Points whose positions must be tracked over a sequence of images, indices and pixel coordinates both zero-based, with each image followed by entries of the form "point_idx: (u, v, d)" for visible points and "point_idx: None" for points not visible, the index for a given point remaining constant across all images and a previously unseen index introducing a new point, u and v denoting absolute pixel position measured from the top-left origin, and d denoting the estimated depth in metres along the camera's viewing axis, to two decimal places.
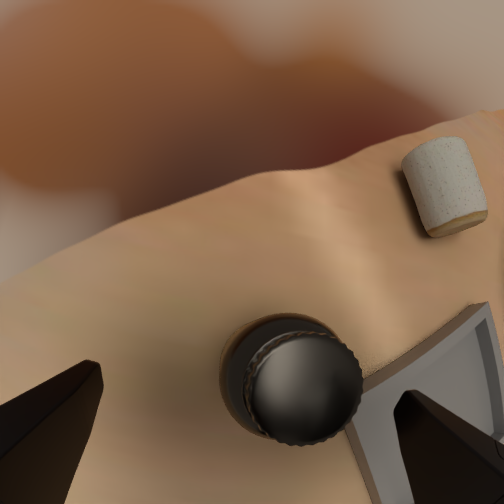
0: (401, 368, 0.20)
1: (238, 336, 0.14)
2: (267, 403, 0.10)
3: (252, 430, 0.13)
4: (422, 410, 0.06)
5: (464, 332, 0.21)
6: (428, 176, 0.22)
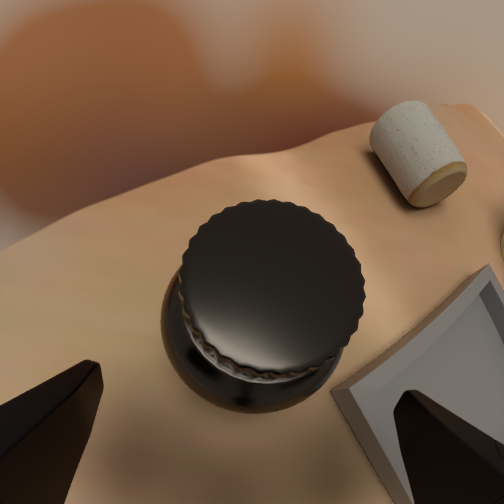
0: (408, 340, 0.17)
1: None
2: (211, 293, 0.07)
3: (209, 393, 0.09)
4: (422, 410, 0.06)
5: (471, 295, 0.19)
6: (397, 139, 0.22)
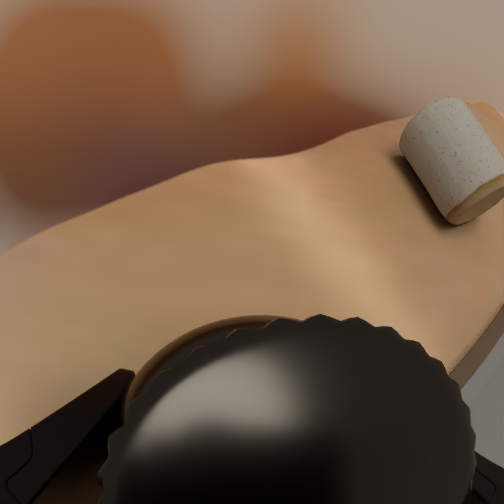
0: None
1: (141, 369, 0.06)
2: None
3: None
4: None
5: None
6: (437, 143, 0.17)
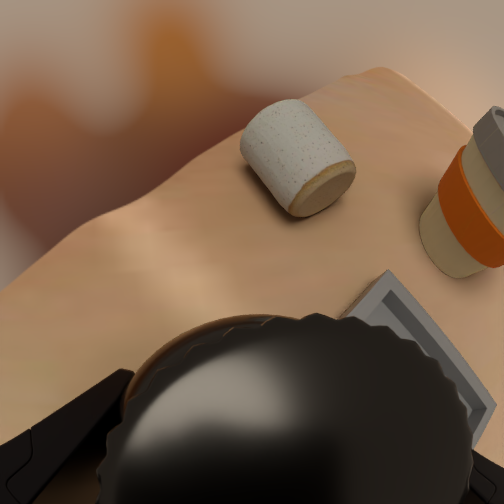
0: None
1: (140, 367, 0.06)
2: None
3: None
4: None
5: (361, 317, 0.20)
6: (263, 153, 0.23)
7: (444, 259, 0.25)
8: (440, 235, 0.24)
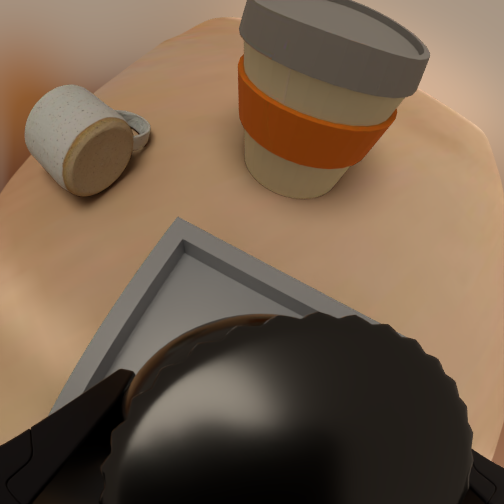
0: (70, 380, 0.14)
1: (143, 366, 0.06)
2: None
3: None
4: None
5: (144, 282, 0.17)
6: (36, 150, 0.18)
7: (276, 180, 0.23)
8: (256, 155, 0.22)
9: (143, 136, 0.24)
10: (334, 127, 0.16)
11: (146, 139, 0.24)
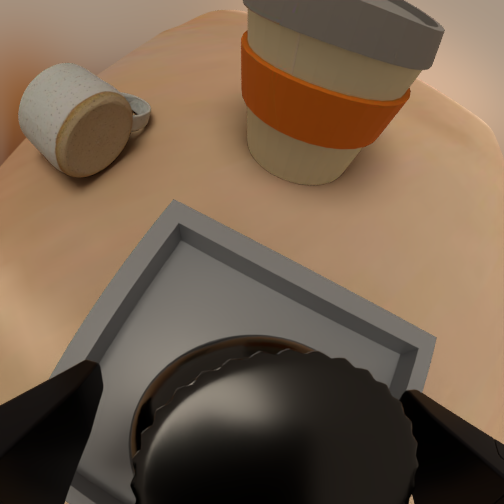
0: None
1: (154, 379, 0.07)
2: None
3: None
4: (422, 410, 0.06)
5: (134, 271, 0.15)
6: (30, 128, 0.16)
7: (282, 164, 0.21)
8: (261, 136, 0.20)
9: (143, 116, 0.22)
10: (348, 99, 0.14)
11: (146, 120, 0.22)
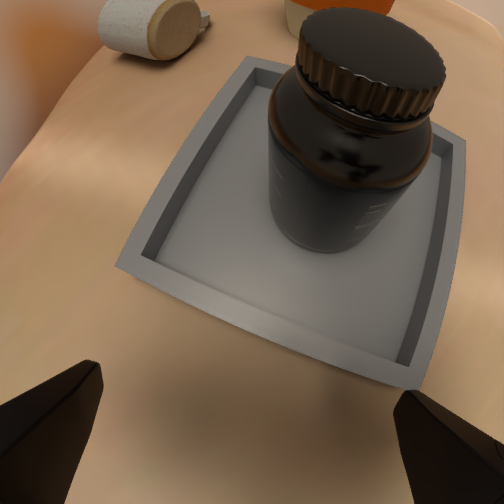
0: (160, 185, 0.17)
1: (281, 77, 0.11)
2: (332, 43, 0.07)
3: (331, 162, 0.09)
4: (422, 410, 0.06)
5: (228, 95, 0.18)
6: (114, 30, 0.19)
7: None
8: (301, 18, 0.21)
9: (206, 17, 0.23)
10: None
11: (208, 21, 0.24)
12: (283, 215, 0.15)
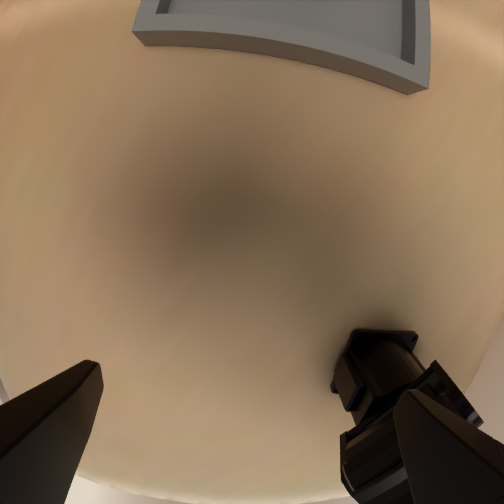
0: None
1: None
2: None
3: None
4: (422, 410, 0.06)
5: None
6: None
7: None
8: None
9: None
10: None
11: None
12: None
